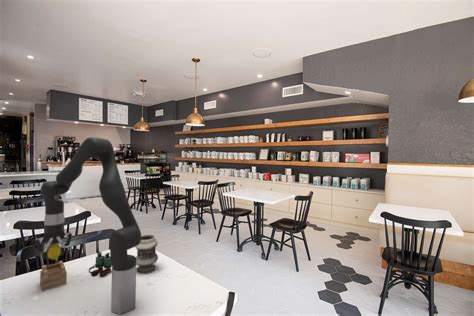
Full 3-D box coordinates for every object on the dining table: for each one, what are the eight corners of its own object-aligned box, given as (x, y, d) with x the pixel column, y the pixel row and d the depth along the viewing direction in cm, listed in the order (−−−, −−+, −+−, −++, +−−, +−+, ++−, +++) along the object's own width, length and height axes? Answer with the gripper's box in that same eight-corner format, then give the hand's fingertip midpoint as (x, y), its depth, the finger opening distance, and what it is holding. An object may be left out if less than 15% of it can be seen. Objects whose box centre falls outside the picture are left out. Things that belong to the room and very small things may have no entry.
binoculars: (85, 260, 116) (98, 250, 126) (86, 279, 117) (99, 268, 127) (101, 261, 115) (114, 251, 125) (102, 281, 116) (115, 269, 126)
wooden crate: (66, 284, 111) (66, 267, 111) (42, 291, 105) (42, 273, 105) (63, 276, 118) (63, 260, 118) (40, 283, 111) (40, 266, 111)
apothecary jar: (132, 266, 130) (133, 235, 130) (154, 261, 137) (155, 231, 136) (136, 276, 120) (137, 242, 120) (160, 271, 127) (161, 238, 126)
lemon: (43, 263, 108) (44, 246, 108) (50, 257, 113) (50, 241, 113) (57, 262, 109) (58, 245, 109) (63, 256, 115) (63, 240, 114)
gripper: (35, 227, 103) (34, 264, 103) (74, 221, 113) (73, 255, 114) (34, 223, 108) (33, 258, 109) (71, 217, 119) (70, 250, 119)
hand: (53, 256), depth 111 cm, fingers closed on lemon, 5 cm apart
